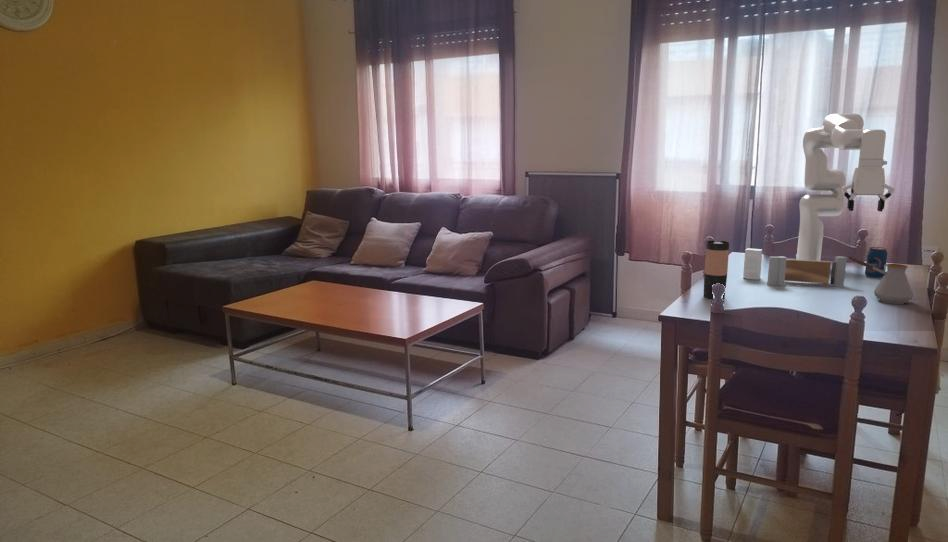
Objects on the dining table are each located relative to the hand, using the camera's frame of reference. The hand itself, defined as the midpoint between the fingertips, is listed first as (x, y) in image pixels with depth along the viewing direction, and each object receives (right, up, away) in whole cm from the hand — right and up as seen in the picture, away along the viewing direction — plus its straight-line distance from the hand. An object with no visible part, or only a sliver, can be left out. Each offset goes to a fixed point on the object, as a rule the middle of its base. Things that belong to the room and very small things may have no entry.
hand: (865, 210), depth 239 cm
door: (-15, -27, +14) cm, 33 cm away
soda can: (+19, -25, +25) cm, 40 cm away
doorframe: (-16, -28, +11) cm, 34 cm away
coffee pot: (-4, -33, -13) cm, 35 cm away
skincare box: (-32, -25, +23) cm, 47 cm away
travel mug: (-59, -32, -7) cm, 67 cm away
